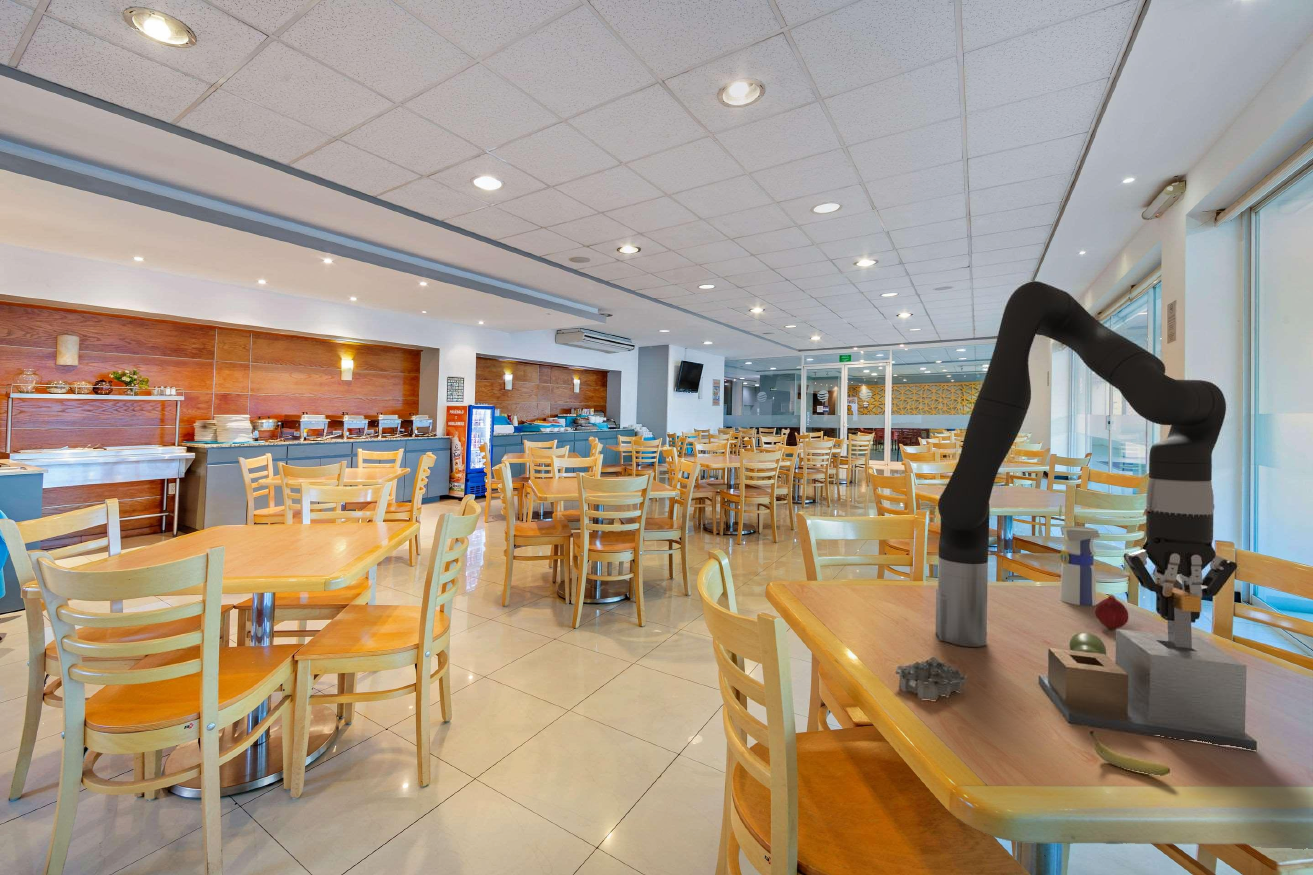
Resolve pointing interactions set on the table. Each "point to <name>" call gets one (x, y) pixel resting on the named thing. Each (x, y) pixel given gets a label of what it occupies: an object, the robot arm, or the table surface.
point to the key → (1182, 618)
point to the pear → (1087, 643)
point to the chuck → (1153, 689)
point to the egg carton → (938, 684)
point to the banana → (1128, 760)
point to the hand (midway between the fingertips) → (1177, 619)
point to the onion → (1111, 613)
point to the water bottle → (1078, 565)
